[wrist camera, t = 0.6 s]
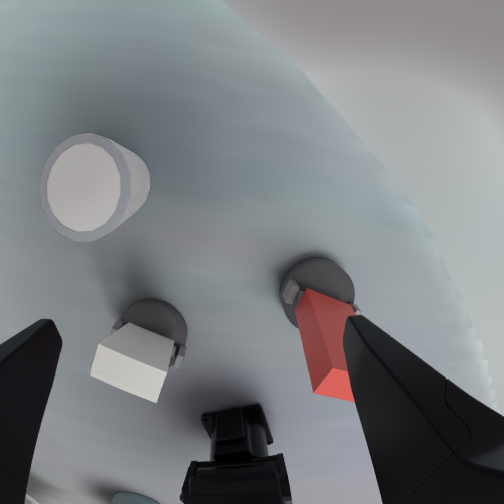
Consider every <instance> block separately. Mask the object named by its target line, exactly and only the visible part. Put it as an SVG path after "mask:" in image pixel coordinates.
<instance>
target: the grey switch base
mask: <svg viewBox="0 0 504 504" xmlns="http://www.w3.org/2000/svg"><path fill="white" fill-rule="evenodd" d="M129 322H130V323H132V324H134V325H137V326H139V327H141V328H144V329H146V330H149V331H151V332H154V333H156V334H159V335H161V336H164V337H166V338H169V339H171V340H174V341H175V342H174V346H175V347H176V350H175V353H174V356H173V357H171V358H170V362H169V366H171V365H173V364H174V366H173V368H175V369H178V370H179V368H180V366H181V363H182V361H183V358H184V355H185V351H186V347H185V343H186V339H187V326H186V323H185V320H184V318H183V317H182V315H181V314H180V312H179V311H178V310H177V309H176V308H174V307H173V306H172V305H170V304H169V303H167V302H165V301H162V300H158V299H143V300H140V301H137V302H135V303H134V304H132V305H131V306H130V307H129V309H128V310H127V311H126V313H125V314H124V315H123V317H122V318H121V320H119V319H118V320H117V322H116V323H115V325H114V326H113V327H112V330H111V334H110V335H112V334H113V333H115V332H116V331H117V330H119V329H120V328H122V327H123V326H124V325H126V324H127V323H129ZM169 366H168V367H169Z"/></svg>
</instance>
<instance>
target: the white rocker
mask: <svg viewBox="0 0 504 504" xmlns="http://www.w3.org/2000/svg"><path fill="white" fill-rule="evenodd" d="M174 342H175V341H174V340H171V339H169V338H166V337H164V336H161V335H159V334H156V333H154V332H151V331H149V330H146V329H144V328H141V327H139V326H137V325H134V324H132V323H130V322H129V323H127V324H126V325H124V326H123V327H122V328H120V329H119V330H117V331H116V332H115V333H113V334H112V335H110V336H109V337H107V338H106V339H105V340H103V341H102V342H100V343H99V344H98V348H97V351H96V355H95V358H94V362H93V365H92V369H91V373H90V376H92V377H94V378H97V379H99V380H101V381H103V382H105V383H108V384H110V385H112V386H114V387H117V388H119V389H122V390H124V391H126V392H129V393H131V394H134V395H136V396H139V397H141V398H144V399H147V400H149V401H152V402H155V403H157V400H158V397H159V394H160V391H161V388H162V385H163V383H164V380H165V377H166V374H167V370H168V366H169V362H170V358H171V357H173V356H174V353H175V350H176V347H175V346H174Z"/></svg>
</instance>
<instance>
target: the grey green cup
mask: <svg viewBox="0 0 504 504" xmlns="http://www.w3.org/2000/svg"><path fill="white" fill-rule="evenodd" d="M111 504H160V503H158V502H157V501H155V500H153V499H150V498H148V497H145V496H142V495H140V494H136V493H130V492H120V493H117V494H115V495H114V496H113V498H112V501H111Z"/></svg>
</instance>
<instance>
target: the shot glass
mask: <svg viewBox="0 0 504 504" xmlns="http://www.w3.org/2000/svg"><path fill="white" fill-rule="evenodd" d="M149 191H150V173H149V171H148V169H147V166H146V164H145V162H144V161H143V160H142V159H141V158H140V157H139V156H138V155H137V154H135V153H134V152H132V151H130V150H128V149H126V148H125V147H123V146H121V145H119V144H117V143H116V142H114V141H112V140H110V139H108V138H105V137H102V136H99V135H96V134H93V133H85V134H78V135H73V136H71V137H69V138H68V139H66V140H65V141H63V142H62V143H60V144H59V145H57V146H56V148H55V149H54V151H53V152H52V153H51V155H50V156H49V158H48V159H47V161H46V162H45V165H44V169H43V172H42V176H41V179H40V200H41V205H42V207H43V210H44V212H45V215H46V218H47V220H48V221H49V223H50V224H51V225H52V226H53V227H54V228H55V229H56V230H57V232H58V233H59V234H60V235H63V236H65V237H67V238H69V239H71V240H73V241H76V242H88V241H96V240H97V239H99V238H101V237H103V236H105V235H107V234H109V233H111V232H112V231H113V230H115V229H116V228H117V227H118V226H119V225H121V224H122V223H123V222H124V221H126V220H127V219H128V218H129V217H131V216H132V215H133V214H134V213H136V212H137V211H138V210H139V209H140V207H141V206H142V205H143V204H144V203H145V202H146V199H147V196H148V194H149Z"/></svg>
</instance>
